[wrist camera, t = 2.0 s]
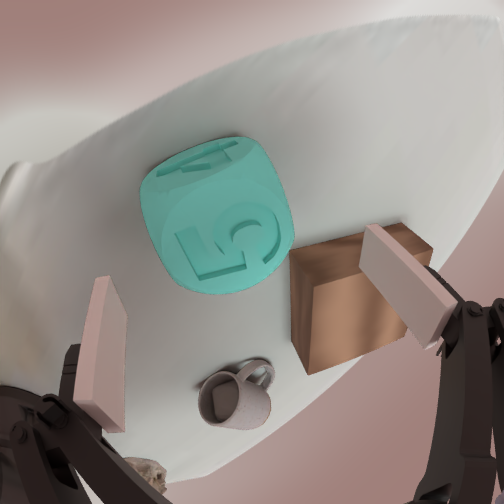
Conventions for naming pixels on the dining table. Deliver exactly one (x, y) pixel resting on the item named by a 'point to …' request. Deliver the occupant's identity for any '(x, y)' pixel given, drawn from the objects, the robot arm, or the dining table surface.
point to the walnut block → (343, 300)
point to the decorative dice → (218, 216)
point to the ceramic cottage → (149, 472)
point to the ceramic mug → (236, 398)
